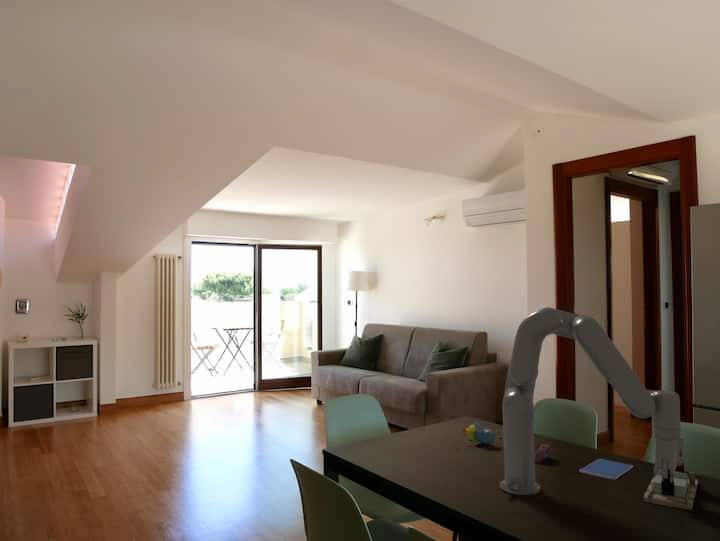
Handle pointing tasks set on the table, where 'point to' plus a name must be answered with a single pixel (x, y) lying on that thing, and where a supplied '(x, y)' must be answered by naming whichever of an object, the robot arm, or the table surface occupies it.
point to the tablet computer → (606, 469)
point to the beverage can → (680, 456)
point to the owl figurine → (479, 434)
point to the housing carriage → (679, 484)
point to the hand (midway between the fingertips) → (668, 494)
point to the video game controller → (542, 452)
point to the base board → (673, 500)
